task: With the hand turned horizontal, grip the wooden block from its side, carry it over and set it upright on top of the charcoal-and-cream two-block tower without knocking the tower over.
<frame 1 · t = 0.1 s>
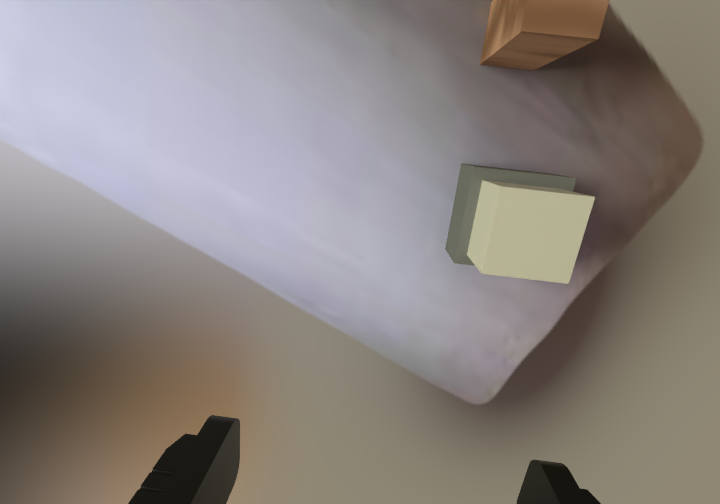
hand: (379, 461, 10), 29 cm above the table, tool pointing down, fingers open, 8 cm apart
wooden block: (513, 36, 32), on the table
tower top: (512, 223, 32), point 5 cm above the table, touching tower base
tower base: (495, 212, 37), on the table, touching tower top
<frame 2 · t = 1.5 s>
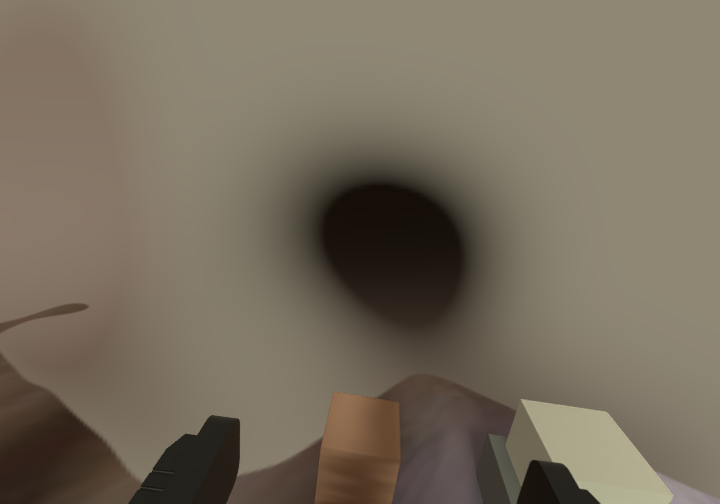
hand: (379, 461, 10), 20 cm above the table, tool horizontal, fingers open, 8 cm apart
tower top: (565, 490, 27), point 5 cm above the table
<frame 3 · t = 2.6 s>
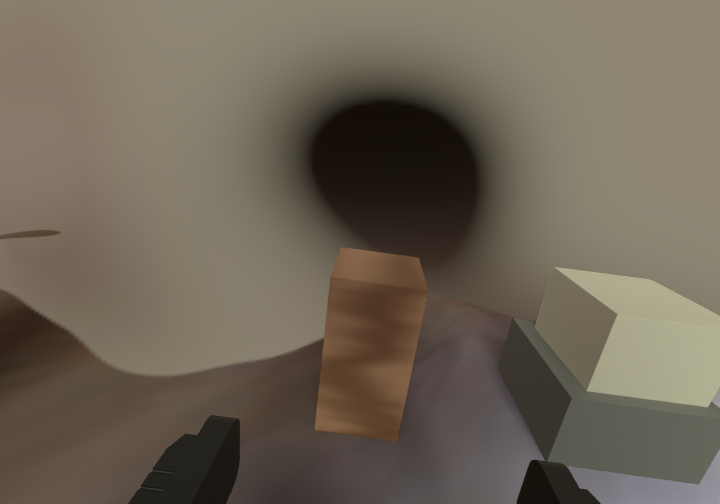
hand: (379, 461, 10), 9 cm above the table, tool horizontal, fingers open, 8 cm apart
wooden block: (358, 405, 23), on the table
tower top: (608, 361, 23), point 5 cm above the table, touching tower base
tower base: (579, 418, 25), on the table, touching tower top
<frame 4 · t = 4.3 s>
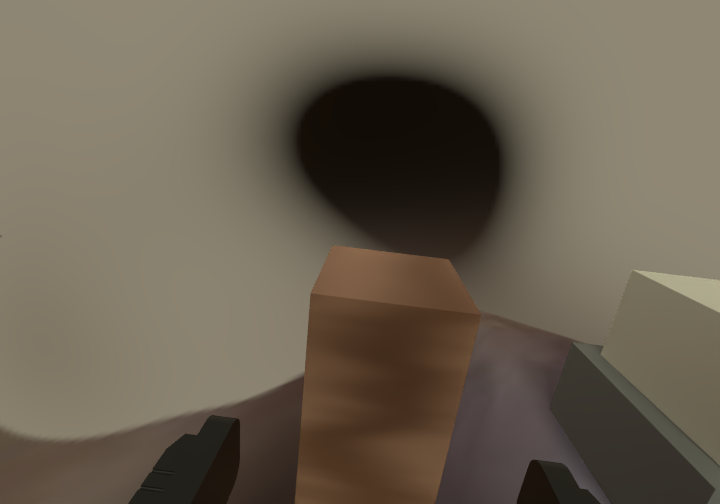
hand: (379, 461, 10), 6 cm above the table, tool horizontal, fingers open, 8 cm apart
wooden block: (361, 481, 16), on the table
tower base: (681, 490, 17), on the table, touching tower top
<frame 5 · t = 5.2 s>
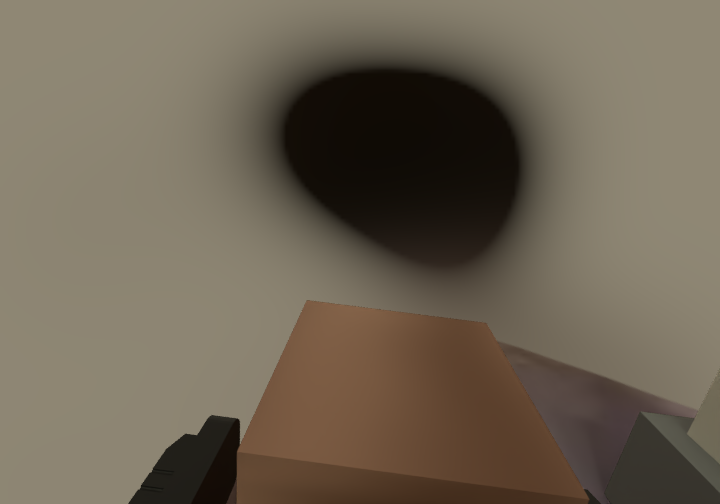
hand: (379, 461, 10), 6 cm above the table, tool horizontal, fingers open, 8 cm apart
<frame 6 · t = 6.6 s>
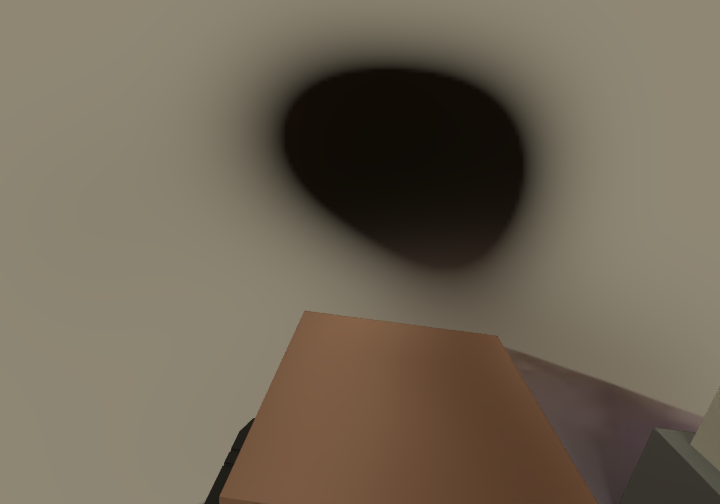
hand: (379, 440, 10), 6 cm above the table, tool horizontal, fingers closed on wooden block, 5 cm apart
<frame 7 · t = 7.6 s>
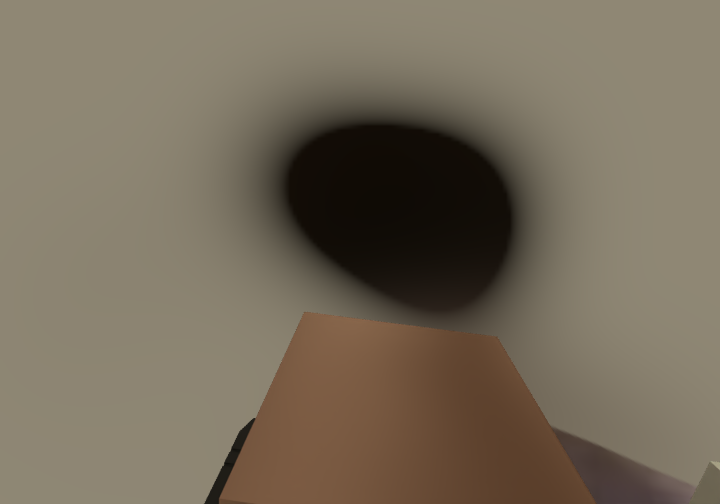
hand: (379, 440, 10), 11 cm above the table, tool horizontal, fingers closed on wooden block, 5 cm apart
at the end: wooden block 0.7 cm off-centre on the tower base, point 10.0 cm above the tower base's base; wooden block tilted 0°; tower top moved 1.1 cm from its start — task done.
